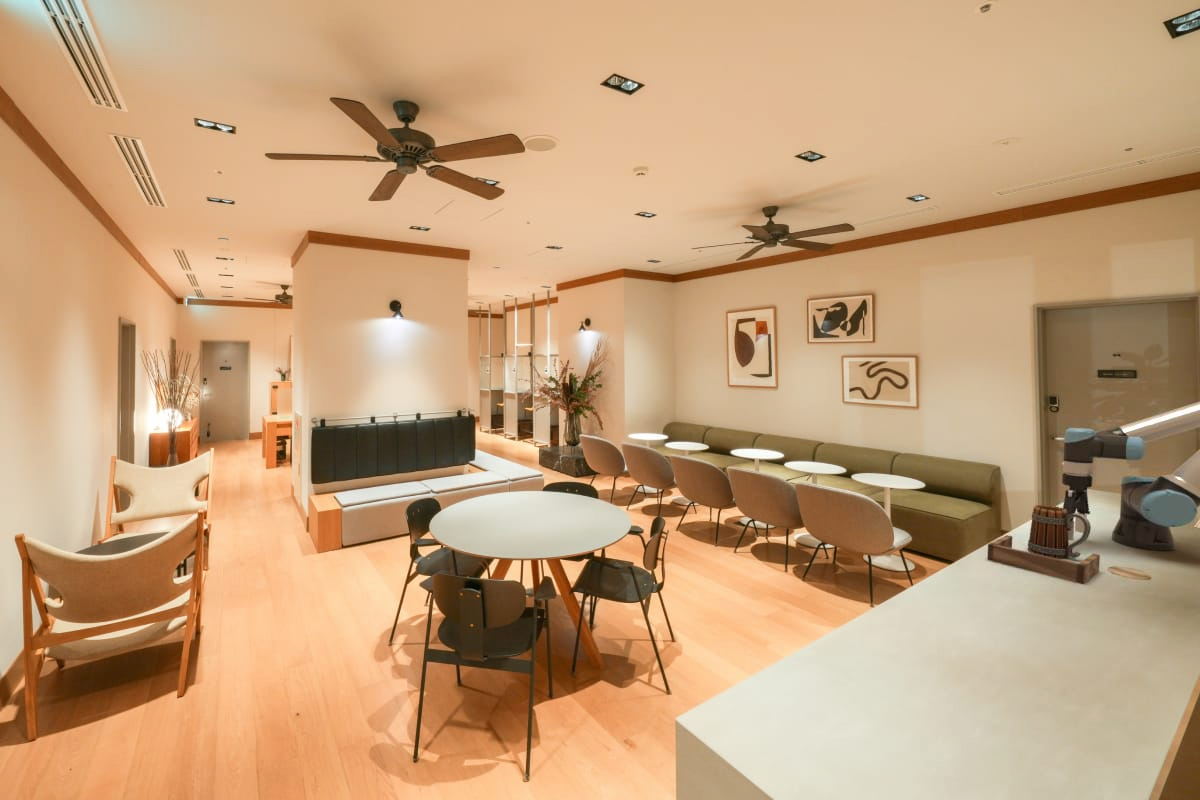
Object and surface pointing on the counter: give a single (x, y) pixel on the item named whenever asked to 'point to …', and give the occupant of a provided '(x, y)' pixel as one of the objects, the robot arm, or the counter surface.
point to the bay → (1042, 562)
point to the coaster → (1129, 573)
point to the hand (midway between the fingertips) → (1074, 535)
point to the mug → (1054, 532)
